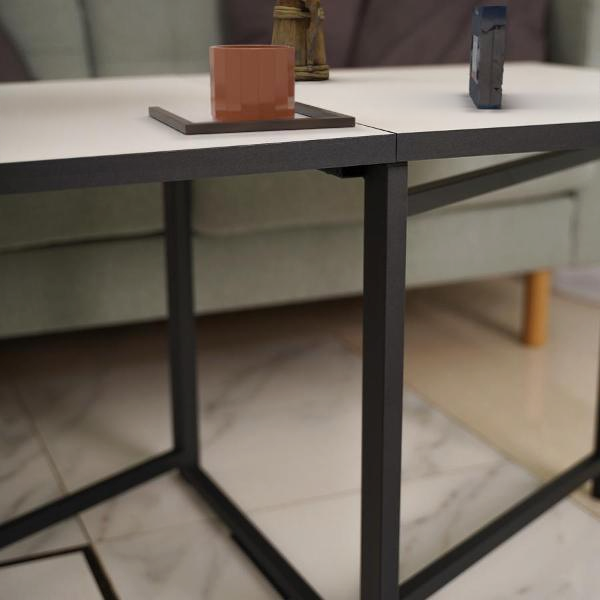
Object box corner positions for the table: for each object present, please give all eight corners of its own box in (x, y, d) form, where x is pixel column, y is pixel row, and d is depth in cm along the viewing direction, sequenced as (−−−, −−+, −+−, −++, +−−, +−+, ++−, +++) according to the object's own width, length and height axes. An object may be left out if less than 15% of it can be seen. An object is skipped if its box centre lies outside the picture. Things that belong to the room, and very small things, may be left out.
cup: (225, 128, 77) (223, 48, 75) (202, 119, 83) (200, 45, 81) (307, 124, 79) (307, 47, 77) (278, 115, 86) (278, 44, 84)
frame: (185, 134, 73) (185, 124, 73) (148, 115, 86) (148, 106, 86) (355, 126, 78) (355, 117, 78) (296, 109, 91) (296, 101, 91)
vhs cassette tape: (467, 92, 110) (472, 6, 107) (492, 93, 109) (498, 5, 106) (471, 108, 92) (477, 5, 89) (501, 109, 92) (508, 5, 89)
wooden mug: (291, 84, 121) (291, -62, 115) (257, 77, 133) (255, -55, 127) (352, 82, 124) (355, -60, 118) (313, 75, 136) (314, -54, 130)
